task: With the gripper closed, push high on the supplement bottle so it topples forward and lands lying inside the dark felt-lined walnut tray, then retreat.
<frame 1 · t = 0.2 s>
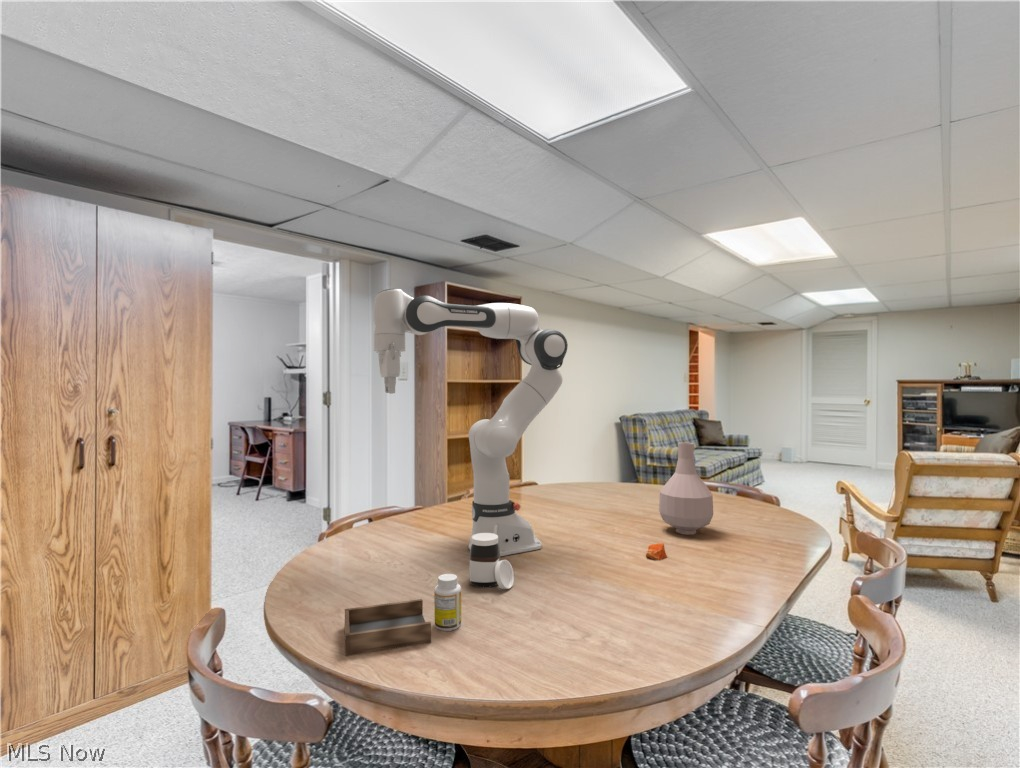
hand: (389, 393, 151), 48 cm above the table, fingers open, 8 cm apart
spread jar: (491, 584, 132), on the table
tray: (386, 634, 105), on the table
supplement bottle: (447, 626, 109), on the table
vase: (685, 532, 177), on the table
rock: (655, 559, 152), on the table
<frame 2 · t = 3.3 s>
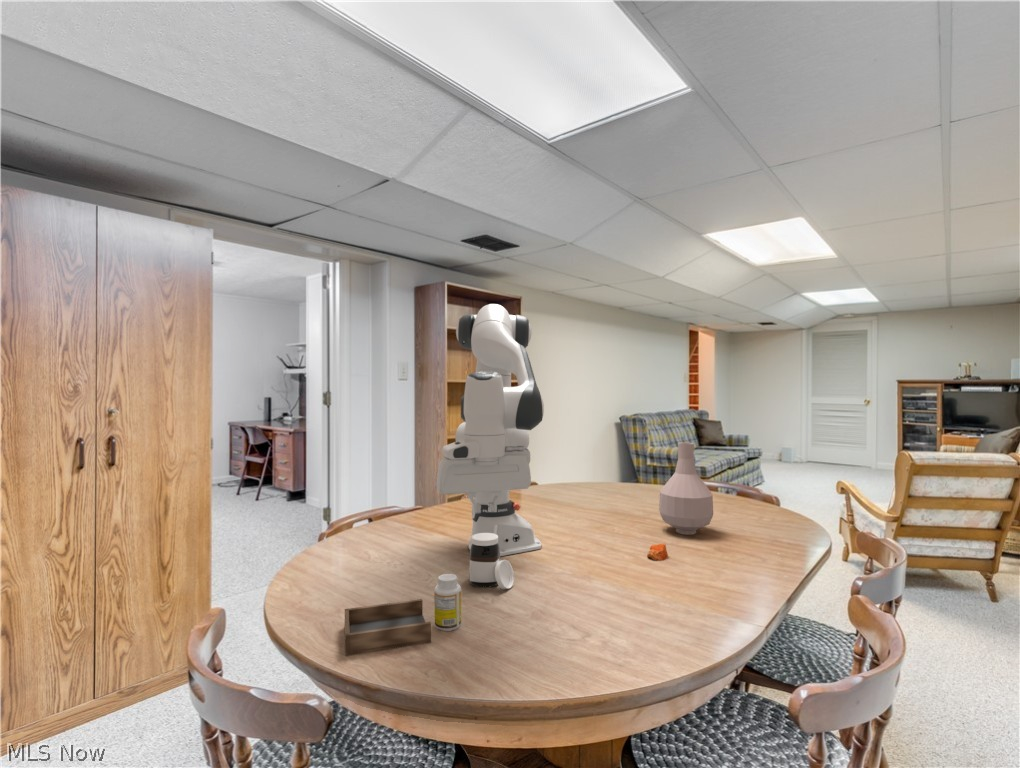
hand: (484, 512, 111), 23 cm above the table, fingers open, 2 cm apart
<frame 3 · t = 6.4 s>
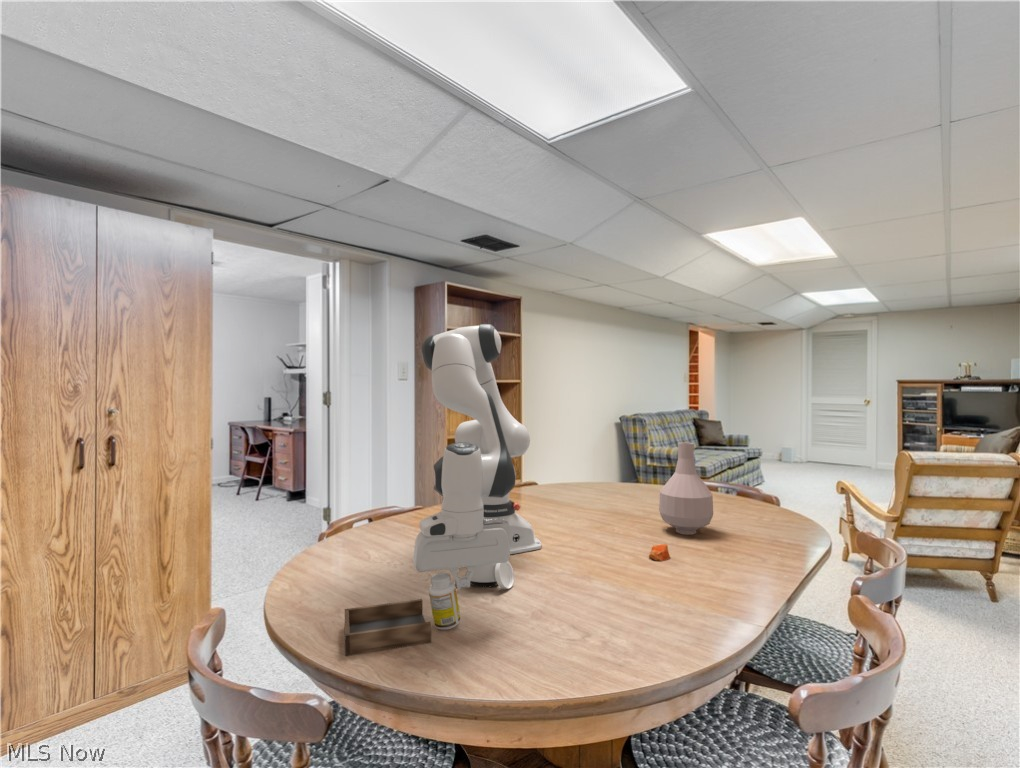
hand: (462, 587, 110), 8 cm above the table, fingers closed
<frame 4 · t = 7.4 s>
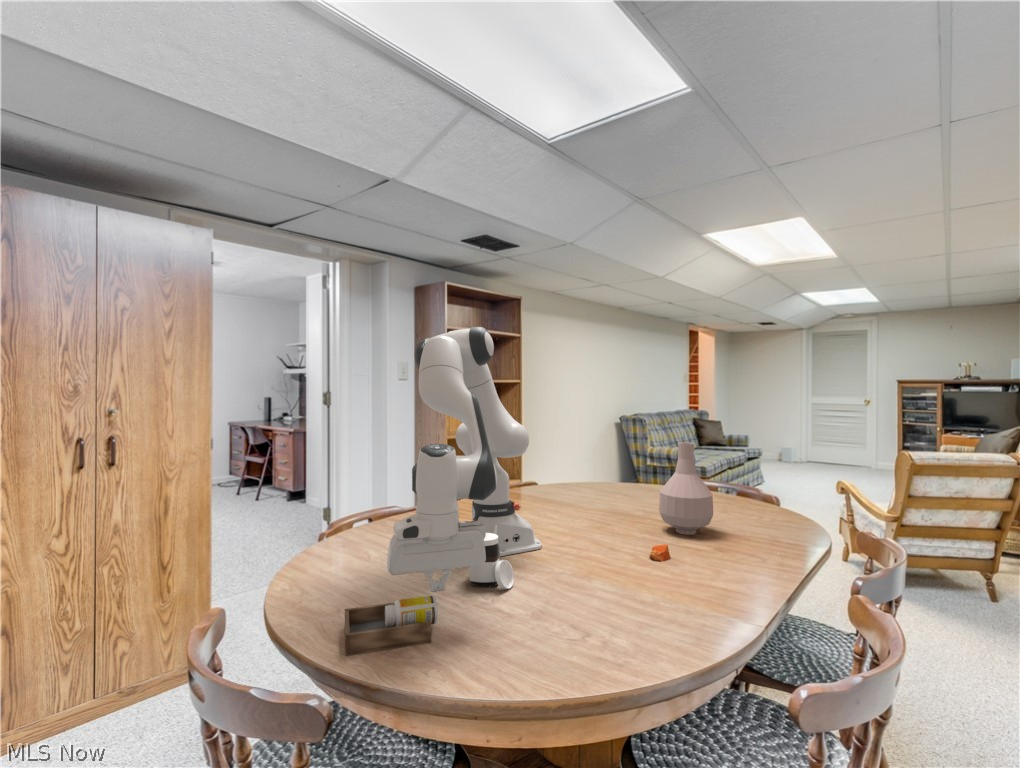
hand: (437, 590, 108), 8 cm above the table, fingers closed
supplement bottle: (437, 608, 108), point 4 cm above the table, touching tray
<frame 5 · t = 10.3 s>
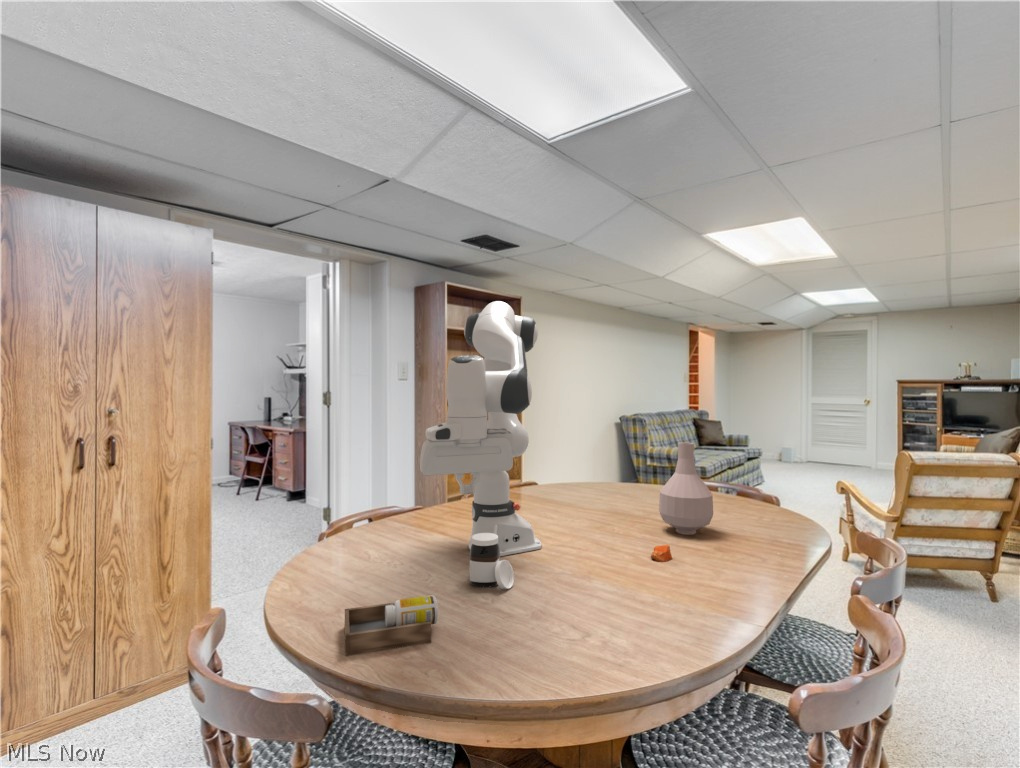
hand: (467, 493, 113), 27 cm above the table, fingers closed
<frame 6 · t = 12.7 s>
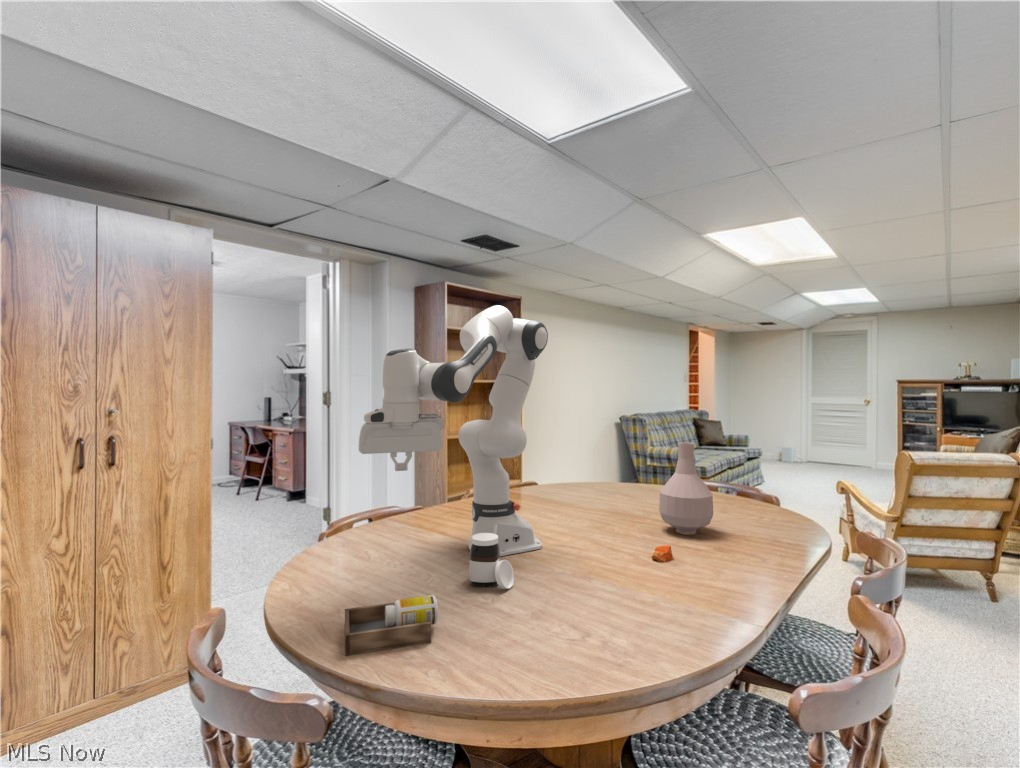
hand: (401, 470, 128), 29 cm above the table, fingers closed
at the end: supplement bottle tilted 90°; supplement bottle inside the target area (7.3 cm from its centre), point 3.7 cm above the table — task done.
